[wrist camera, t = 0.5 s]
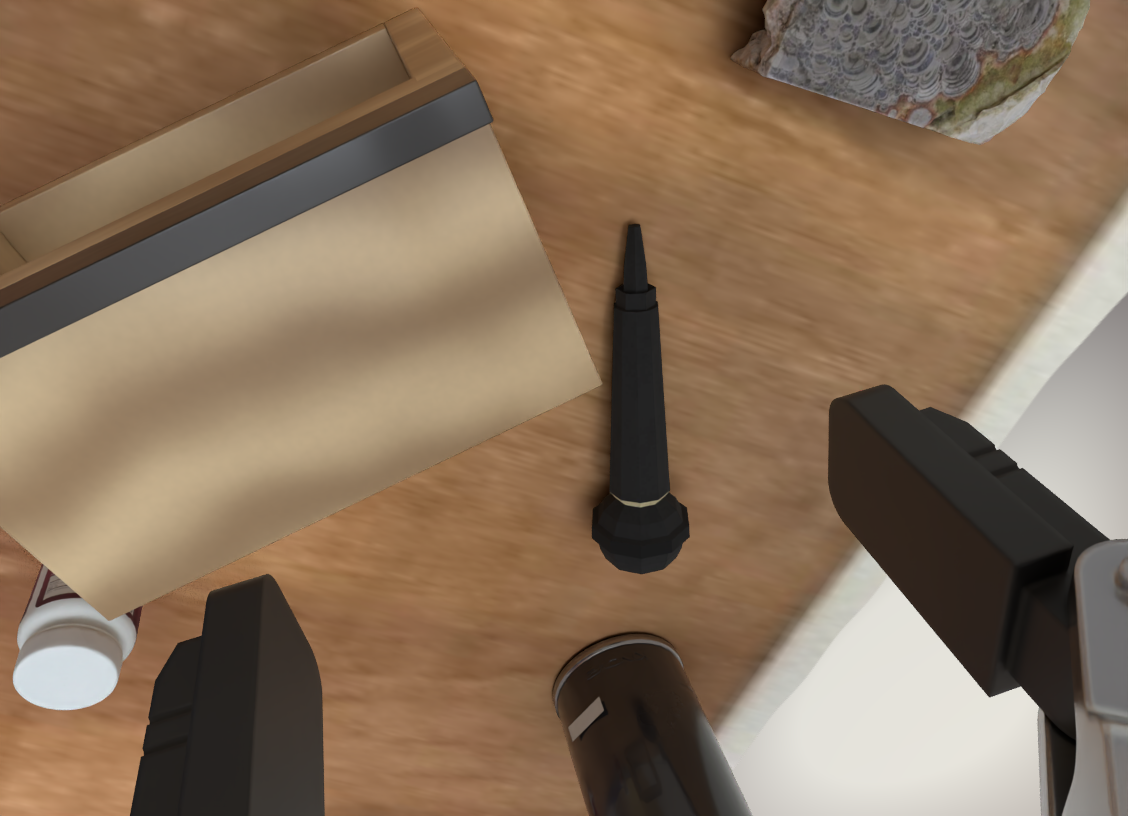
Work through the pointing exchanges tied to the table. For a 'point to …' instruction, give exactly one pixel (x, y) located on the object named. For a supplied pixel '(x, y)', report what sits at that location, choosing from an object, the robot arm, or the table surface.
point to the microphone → (638, 434)
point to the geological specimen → (920, 56)
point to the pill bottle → (69, 647)
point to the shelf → (269, 318)
